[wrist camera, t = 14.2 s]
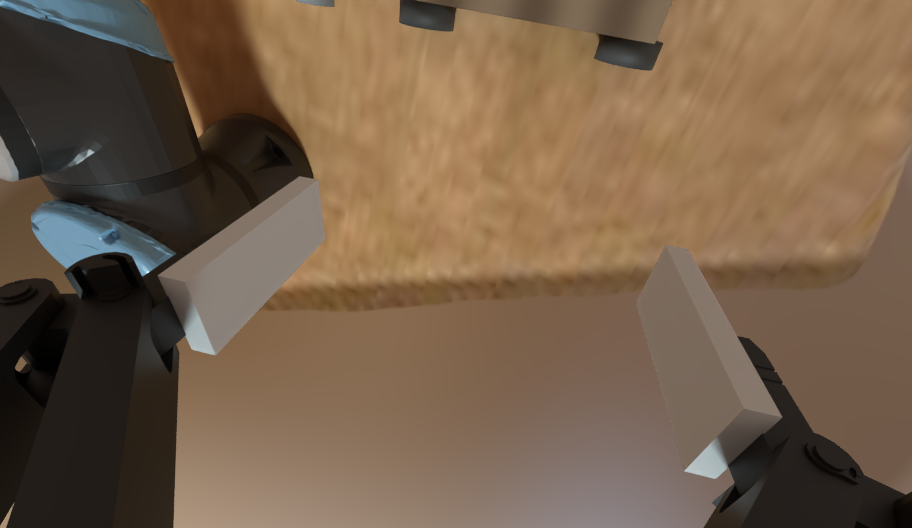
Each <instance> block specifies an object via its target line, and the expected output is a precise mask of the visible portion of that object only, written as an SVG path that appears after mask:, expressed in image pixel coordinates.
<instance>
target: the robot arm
mask: <svg viewBox="0 0 912 528" xmlns="http://www.w3.org/2000/svg"><path fill="white" fill-rule="evenodd" d="M173 63H175V61H174V59H173V57H172V56H171V55H170V54H169V53H168V50H167V48H166V45H165V43H164V40H163V38H162V35H161V32H160V30H159V27H158V25H157V22H156V20H155V18H154V16H153V14H152V12H151V11H150V10H149V9H148V7H147V6H146V5H145V4H144V3H142V2H141V1H140V0H0V178H1V179H4V180H7V181H16V180H21V179H26V178H30V177H34V176H38V175H39V176H40V177H41V179H42V180H43V182H44V183H45V185H46V187H47V188H48V190H49V192H50V193H51V195H52V197H53V199H54V200H53V201H47V202H44V203H43V204H41V205H40V206H39V208H38V209H36V210H35V211H34V212H33V213H32V216H31V221H32V230H33V232H34V234H35V236H36V237H37V239H38V240H39V241H40V243H41V244H42V245H43V246H44V248H46V250H47V251H48V252H49V253H50V254H51V255H52V256H53V257H54V258H55V259H56V260H57V261H58V262H60V263H61V264H62V265H63V266H64V267H66V268H67V270H66V271H65V273H64V274H65V276H66V277H67V279H68V280H69V282H70V283H71V285H72V286H73V288H74V289H75V291H76V292H77V294H60V292H59V291H58V289H57V288H56V286H55V285H54V284H53V282H52V281H50V280H47V279H37V278H33V279H26V280H19V281H15V282H13V283H12V282H11V283H8V284H6V285H4V286H2V287H0V525H1V523H2V522H3V520H4V518H5V517H6V515H7V513H8V512H9V510H10V508H11V506H12V505H13V503H14V506H13V509H12V512H11V515H10V518H9V521H8V524H7V527H6V528H173V520H174V519H173V518H174V489H175V460H176V432H177V431H176V430H177V402H178V401H177V400H178V373H179V351H178V348H177V346H176V343H178V342H179V341H180V340H181V339H182V338H183V337H184V336H186V338H187V340H188V342H189V344H190V346H191V349H192V350H196V351H200V352H204V353H209V354H212V355H216V354H217V353H218V352H219V351H220V350H221V349H222V348H223V347H224V346H225V345H226V344H227V343H228V342H229V341H230V340H231V338H232V337H233V336H234V335H235V334H236V333H237V332H238V331H239V330H240V329H241V328H242V327H243V326H244V325H245V324H246V323H247V322H248V321H249V319H250V318H251V317H252V316H253V315H254V314H255V313H256V312H257V311H258V310H259V309H260V308H261V307H262V306H263V305H264V304H265V303H266V301H267V300H268V299H269V298H270V297H271V296H272V295H273V294H274V293H275V292H276V291H277V290H278V289H279V288H280V287H281V286H282V285H283V284H284V282H285V281H286V280H287V279H288V278H289V277H290V276H291V275H292V274H293V273H294V272H295V271H296V270H297V269H298V268H299V267H300V266H301V264H302V263H303V262H304V261H305V260H306V259H307V258H308V257H309V256H310V255H311V254H312V253H313V252H314V251H315V250H316V249H317V248H318V246H319V245H320V244H321V243H322V242H323V241H324V240H325V233H324V225H323V217H322V209H321V200H320V192H319V184H318V180H317V179H313V176H312V172H311V169H310V167H309V164H308V162H307V160H306V158H305V157H304V155H303V153H302V152H301V150H300V149H299V147H298V146H297V145H296V144H295V142H294V141H293V140H292V139H291V138H290V137H289V136H288V135H287V134H286V133H285V132H284V131H282V130H281V129H280V128H278V127H277V126H276V125H274V124H272V123H271V122H269V121H267V120H265V119H263V118H260V117H257V116H254V115H249V114H236V115H232V116H228V117H226V118H223V119H220V120H217V121H215V122H214V123H212V124H211V125H209V126H208V127H207V128H206V130H205V131H204V132H203V134H202V135H201V136H200V137H199V138H197V135H196V132H195V129H194V126H193V123H192V120H191V116H190V113H189V110H188V107H187V104H186V101H185V98H184V95H183V92H182V89H181V86H180V83H179V80H178V77H177V74H176V71H175V68H174V65H173ZM636 305H637V309H638V312H639V316H640V319H641V323H642V326H643V330H644V333H645V336H646V340H647V344H648V347H649V351H650V354H651V358H652V361H653V364H654V368H655V371H656V375H657V379H658V382H659V385H660V389H661V392H662V396H663V399H664V403H665V406H666V409H667V413H668V417H669V420H670V424H671V427H672V430H673V434H674V437H675V441H676V444H677V448H678V451H679V455H680V458H681V462H682V466H683V469H684V471H686V472H690V473H694V474H698V475H702V476H706V477H710V478H714V479H716V478H717V477H718V476H719V475H720V474H721V473H722V472H724V470H726V469H727V468H728V467H729V469H730V471H731V474H732V477H733V479H734V482H735V483H734V484H733V485H732V486H731V487H729V488H728V489H727V490H726V491H725V492H724V493H722V494H721V495H720V496H719V497H718V498H717V499H716V500H714V501H713V502H712V503H713V504H714V505H715V506H717V507H716V509H715V510H714V512H713V514H712V515H711V517H710V518H709V520H708V522H707V523H706V525H705V526H704V528H912V492H910V493H909V494H907V495H905V494H903V493H901V492H899V491H896V490H894V489H892V488H890V487H888V486H886V485H883V484H882V483H879V482H877V481H875V480H873V479H871V478H869V477H867V476H865V475H864V474H863V472H862V470H861V469H860V467H859V465H858V464H857V463H856V462H855V461H854V460H853V459H852V457H851V456H850V455H849V454H848V453H847V452H845V451H844V450H843V449H842V448H840V447H839V446H838V445H836V444H835V443H834V442H832V441H830V440H828V439H827V438H825V437H823V436H821V435H819V434H816V433H813V431H812V429H811V428H810V426H809V425H808V423H807V421H806V420H805V418H804V416H803V415H802V413H801V412H800V410H799V408H798V407H797V405H796V403H795V402H794V400H793V399H792V397H791V395H790V394H789V392H788V390H787V389H786V387H785V386H784V385H782V380H781V379H780V377H779V376H778V374H777V372H774V370H775V369H774V367H773V366H772V364H771V363H770V361H769V359H768V358H767V356H766V355H765V353H764V352H763V351H761V349H760V348H758V347H757V346H756V345H755V344H754V343H753V342H752V341H751V340H750V339H749V338H744V337H739V336H737V335H736V334H735V332H734V330H733V328H732V327H731V325H730V323H729V321H728V319H727V318H726V316H725V314H724V312H723V311H722V309H721V307H720V305H719V303H718V302H717V300H716V298H715V296H714V294H713V293H712V291H711V289H710V287H709V285H708V284H707V282H706V280H705V278H704V277H703V275H702V273H701V271H700V269H699V268H698V266H697V264H696V262H695V260H694V259H693V257H692V255H691V253H690V252H689V250H688V249H684V248H679V247H674V246H668V245H665V247H664V249H663V251H662V253H661V255H660V257H659V259H658V261H657V263H656V265H655V267H654V269H653V271H652V273H651V274H650V276H649V278H648V280H647V282H646V284H645V286H644V288H643V290H642V292H641V294H640V296H639V298H638V300H637V302H636ZM21 356H22V358H23V359H24V360H25V361H26V362H27V364H26V365H25V366H24V368H23V369H22V370H21V371H20V372H18V371H16V370H15V366H16V364H17V362H18V360H19V358H20V357H21Z"/></svg>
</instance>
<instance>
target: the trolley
mask: <svg viewBox="0 0 912 528" xmlns="http://www.w3.org/2000/svg"><path fill="white" fill-rule="evenodd" d="M297 2H301V3H305V4H311V5H317V6H326V7H334V0H297ZM671 2H672V0H400V17H399V22H400V23H402V24H405V25H408V26H413V27H418V28H423V29H429V30H437V31H453V29H454V20H455V12H456V8H461V9H466V10H472V11H477V12H482V13H488V14H493V15H499V16H504V17H510V18H515V19H521V20H526V21H532V22H537V23H543V24H548V25H553V26H559V27H564V28H570V29H575V30H581V31H586V32H592V33H597V34H602V35H601V38H600V41H599V44H598V48H597V51H596V54H595V57H594V58H595V59H597V60H599V61H602V62H606V63H609V64H613V65H618V66H622V67H627V68H633V69H640V70H652V69H653V67H654V65H655V62H656V60H657V57H658V55H659V52H660V50H661V47H662V45H663V43H662V42H659V41H656V40H657V38H658V35H659V33H660V30H661V28H662V25H663V23H664V20H665V18H666V15H667V13H668V10H669V7H670V5H671Z"/></svg>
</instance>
